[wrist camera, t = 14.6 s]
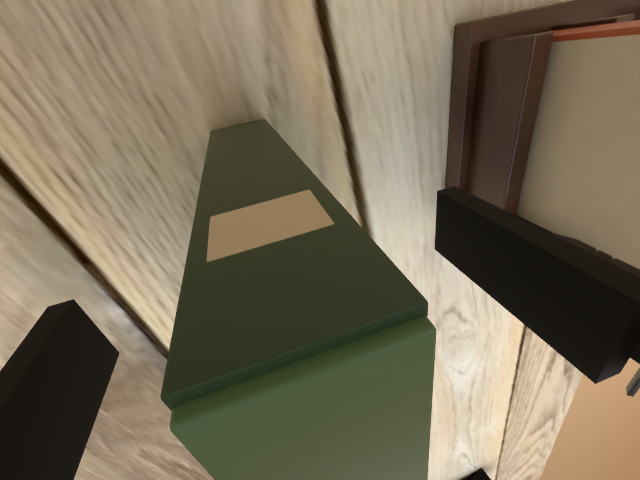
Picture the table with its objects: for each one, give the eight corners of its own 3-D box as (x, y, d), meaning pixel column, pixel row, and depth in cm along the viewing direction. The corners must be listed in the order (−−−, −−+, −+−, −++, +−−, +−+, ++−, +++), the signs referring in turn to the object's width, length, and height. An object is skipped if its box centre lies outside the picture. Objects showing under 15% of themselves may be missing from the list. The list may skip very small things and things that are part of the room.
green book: (210, 130, 14) (152, 420, 2) (264, 117, 14) (441, 313, 3) (260, 271, 19) (325, 605, 7) (300, 258, 19) (424, 555, 7)
